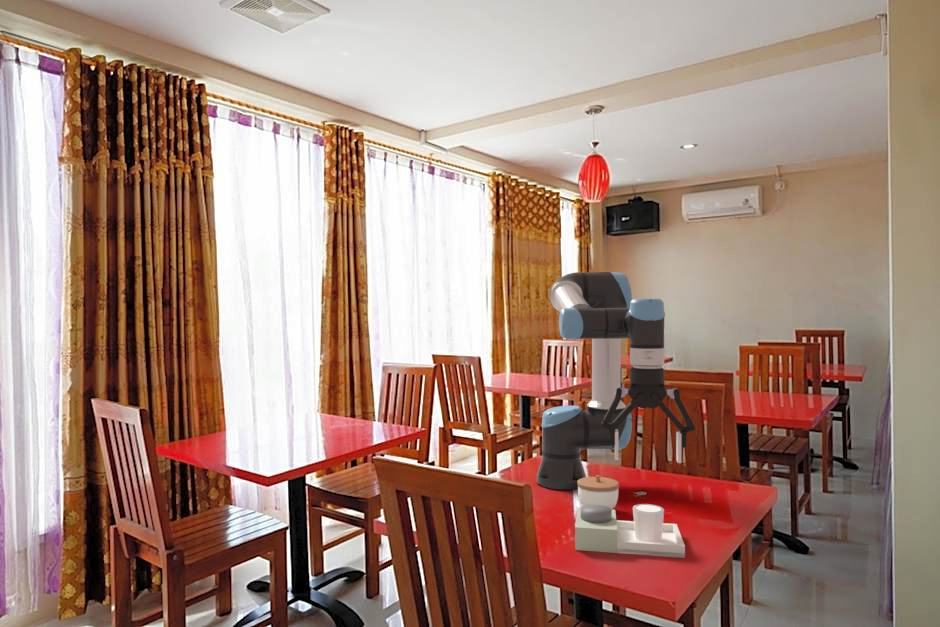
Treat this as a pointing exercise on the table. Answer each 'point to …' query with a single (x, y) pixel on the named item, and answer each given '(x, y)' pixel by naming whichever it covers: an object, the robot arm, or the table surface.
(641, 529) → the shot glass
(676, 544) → the knobbed tray panel
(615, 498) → the lidded jar
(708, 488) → the table surface
